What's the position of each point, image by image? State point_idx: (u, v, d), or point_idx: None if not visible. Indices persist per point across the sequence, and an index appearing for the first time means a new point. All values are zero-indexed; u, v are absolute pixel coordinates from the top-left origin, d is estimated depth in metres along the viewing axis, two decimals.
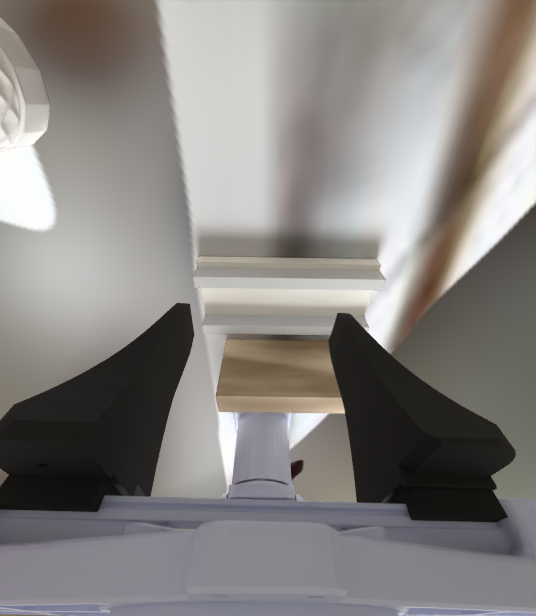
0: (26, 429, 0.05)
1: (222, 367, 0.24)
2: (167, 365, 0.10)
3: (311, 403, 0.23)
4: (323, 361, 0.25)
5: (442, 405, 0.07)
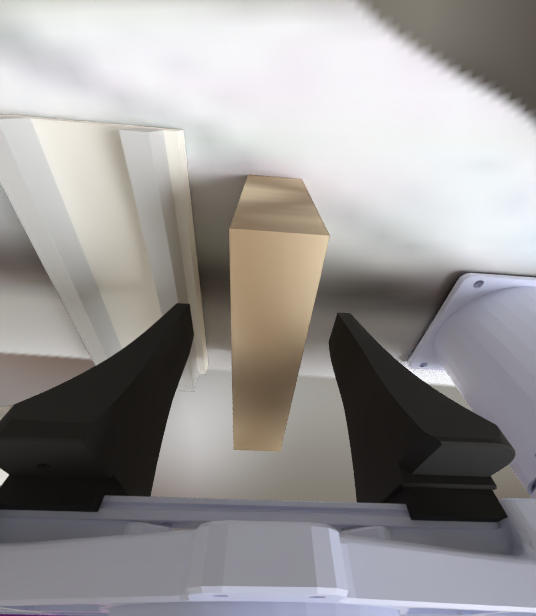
0: (26, 429, 0.05)
1: None
2: (167, 365, 0.10)
3: (260, 336, 0.08)
4: None
5: (442, 405, 0.07)
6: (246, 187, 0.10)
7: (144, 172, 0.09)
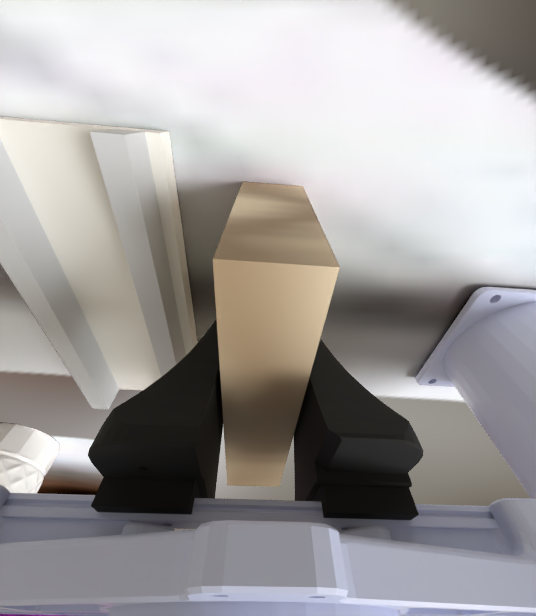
0: (138, 433, 0.05)
1: None
2: None
3: (254, 377, 0.07)
4: None
5: (362, 401, 0.07)
6: (239, 198, 0.08)
7: (122, 180, 0.08)
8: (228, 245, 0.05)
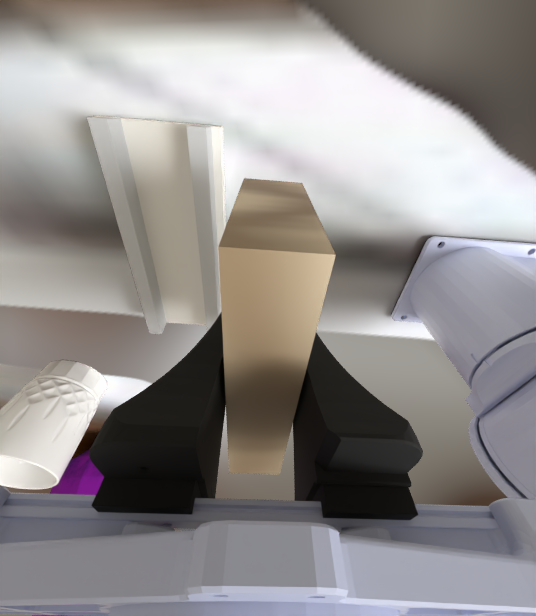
0: (138, 433, 0.05)
1: None
2: None
3: (256, 362, 0.08)
4: None
5: (361, 401, 0.07)
6: (241, 194, 0.09)
7: (200, 155, 0.14)
8: (232, 235, 0.06)
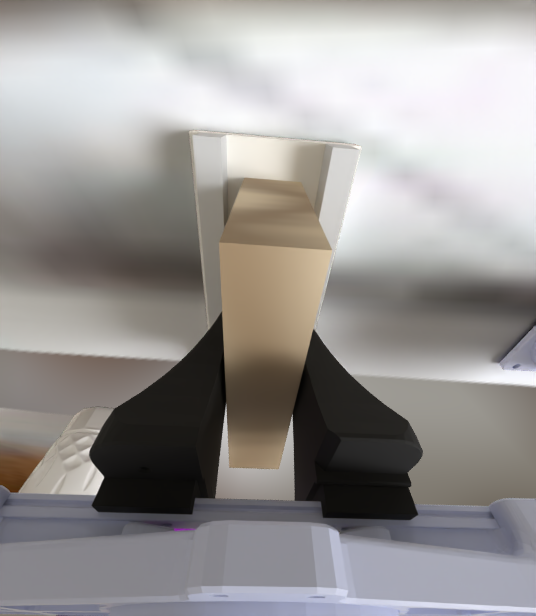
0: (138, 433, 0.05)
1: None
2: None
3: (255, 356, 0.08)
4: None
5: (361, 401, 0.07)
6: (241, 192, 0.09)
7: (340, 186, 0.10)
8: (232, 231, 0.06)
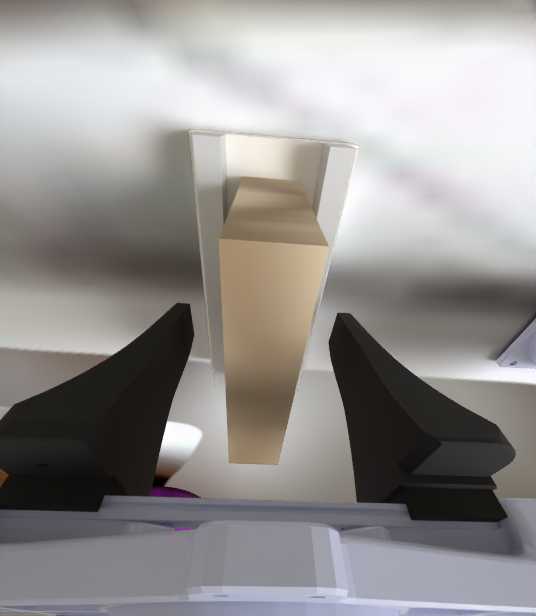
0: (26, 429, 0.05)
1: None
2: (167, 365, 0.10)
3: (255, 351, 0.08)
4: None
5: (442, 405, 0.07)
6: (240, 191, 0.09)
7: (338, 185, 0.10)
8: (232, 228, 0.06)
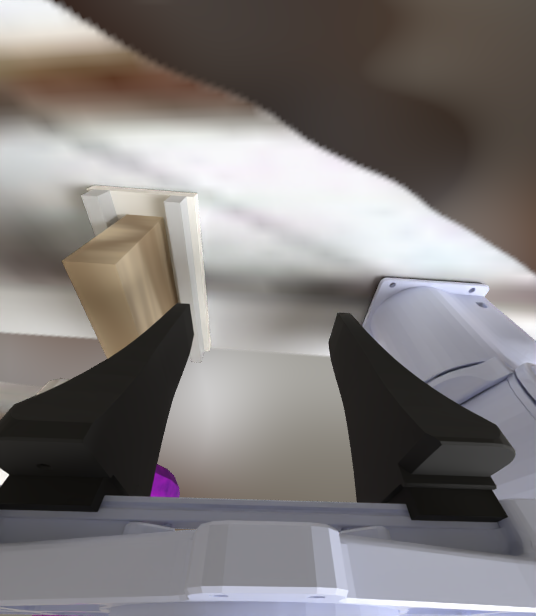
0: (26, 429, 0.05)
1: None
2: (167, 365, 0.10)
3: (106, 320, 0.14)
4: None
5: (442, 405, 0.07)
6: (109, 228, 0.16)
7: (176, 222, 0.16)
8: (74, 255, 0.13)
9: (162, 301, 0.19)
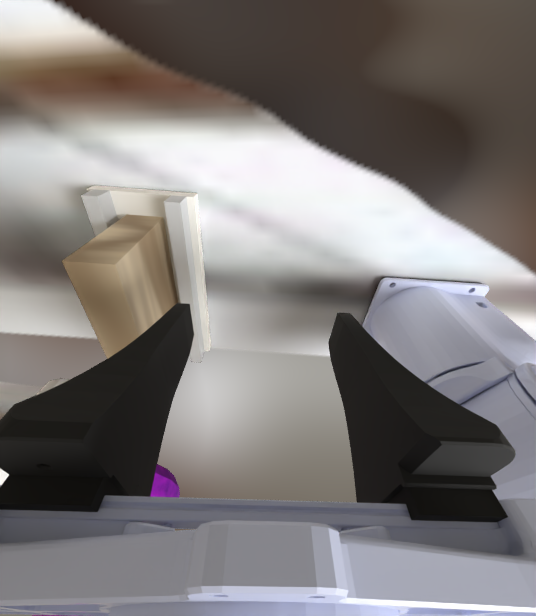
0: (26, 429, 0.05)
1: None
2: (167, 365, 0.10)
3: (106, 320, 0.14)
4: None
5: (442, 405, 0.07)
6: (109, 228, 0.16)
7: (176, 222, 0.16)
8: (74, 255, 0.13)
9: (162, 301, 0.19)
